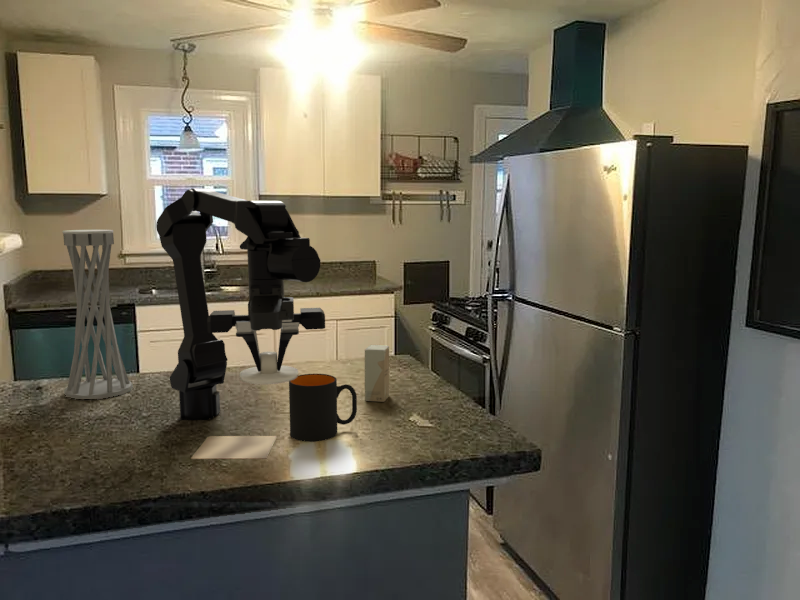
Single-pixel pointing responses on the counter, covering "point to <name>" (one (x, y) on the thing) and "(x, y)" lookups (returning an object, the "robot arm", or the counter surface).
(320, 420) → the mug
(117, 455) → the counter surface
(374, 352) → the box
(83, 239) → the vase
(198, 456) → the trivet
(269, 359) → the lid
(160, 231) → the robot arm
